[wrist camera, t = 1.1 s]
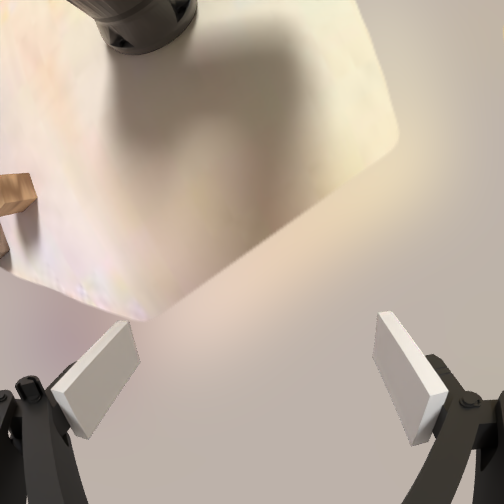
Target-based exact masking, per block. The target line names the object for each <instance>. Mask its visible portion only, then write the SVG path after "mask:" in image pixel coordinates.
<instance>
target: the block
mask: <svg viewBox="0 0 504 504" xmlns="http://www.w3.org/2000/svg"><path fill="white" fill-rule="evenodd" d="M36 199H37V195H36V192H35V189H34V186H33V183H32V180H31V177H30V174H29V173H21V174H6V175H0V217H1V216H5V215H10V214H14V213H19V212H23V211H24V210H25V209H26V208H27V207H28V206H29V205H30V204H31V203H32V202H34V201H35V200H36Z"/></svg>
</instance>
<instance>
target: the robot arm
mask: <svg viewBox="0 0 504 504" xmlns="http://www.w3.org/2000/svg"><path fill="white" fill-rule="evenodd" d="M67 1H68V2H70V3H71V4H73V5H74V6H76V7H77V8H79V9H80V10H82V11H83V12H85V13H86V14H87V15H89V16H90V17H92V18H93V19H94V20H95V22H96V24H97V27H98V29H99V31H100V34H101V36H102V38H103V40H104V41H105V42H106V43H107V44H108V45H109V46H110V47H112V48H113V49H115V50H116V51H118V52H120V53H123V54H129V55H137V54H144V53H148V52H151V51H154V50H157V49H159V48H161V47H163V46H165V45H166V44H168V43H170V42H171V41H172V40H174V39H175V38H176V37H178V36H179V35H180V34H181V33H182V32H183V31H184V30H185V29H186V27H187V26H188V25H189V23H190V22H191V20H192V18H193V16H194V14H195V11H196V7H197V0H67ZM373 359H374V361H375V364H376V366H377V368H378V370H379V372H380V374H381V377H382V379H383V381H384V383H385V386H386V388H387V390H388V392H389V394H390V397H391V399H392V402H393V404H394V406H395V408H396V411H397V413H398V416H399V418H400V420H401V423H402V425H403V428H404V430H405V432H406V435H407V437H408V440H409V442H410V445H411V446H414V445H419V444H422V443H426V442H428V441H429V439H430V437H431V434H432V432H433V434H434V436H435V438H436V440H435V442H434V445H433V446H432V449H431V451H430V452H429V454H428V457H427V459H426V461H425V463H424V465H423V467H422V469H421V471H420V473H419V474H418V476H417V478H416V480H415V482H414V484H413V485H412V487H411V489H410V491H409V492H408V494H407V495H406V497H405V499H404V500H403V502H402V504H451V502H452V499H453V497H454V495H455V493H456V490H457V488H458V485H459V483H460V480H461V478H462V475H463V473H464V470H465V467H466V464H467V461H468V459H469V456H470V453H471V450H474V449H476V471H475V484H474V494H473V502H472V504H504V391H502V393H501V394H500V396H499V399H498V400H482V398H481V397H480V396H479V395H478V394H476V393H474V392H470V391H465V390H464V389H463V387H462V386H461V385H460V383H459V382H458V381H457V379H456V378H455V377H454V375H453V374H452V373H451V371H450V370H449V368H447V366H446V365H445V363H444V362H443V361H442V359H440V358H439V357H437V356H435V355H434V354H431V355H426V356H424V355H423V353H422V352H421V350H420V349H419V347H418V346H417V345H416V343H415V342H414V341H413V339H412V338H411V337H410V335H409V334H408V332H407V331H406V330H405V328H404V327H403V326H402V324H401V323H400V322H399V320H398V319H397V318H396V317H395V315H394V314H393V313H392V311H386V312H378V315H377V325H376V334H375V343H374V351H373ZM139 364H140V359H139V355H138V352H137V348H136V345H135V341H134V338H133V334H132V330H131V327H130V322H129V321H117V322H116V323H115V324H114V325H113V326H112V327H111V328H110V329H109V330H108V331H107V332H106V333H105V334H104V335H103V336H102V337H101V338H100V339H99V340H98V341H97V342H96V343H95V344H94V345H93V346H92V347H91V348H90V349H89V350H88V351H87V352H86V353H85V354H84V355H83V356H82V357H81V358H80V359H79V360H78V361H76V362H74V363H72V364H71V365H69V366H68V367H67V368H66V369H65V370H64V371H63V373H61V374H60V375H59V377H57V378H56V379H55V380H54V381H53V382H52V383H51V384H50V386H49V387H47V389H46V390H44V388H43V387H42V384H41V382H40V380H39V378H38V377H36V376H27V377H23V378H22V379H20V380H19V381H18V382H17V383H16V385H15V388H16V390H17V392H18V394H19V396H20V398H21V399H15V398H14V396H13V394H12V392H11V391H9V390H1V391H0V504H26V498H27V497H28V504H88V501H87V498H86V495H85V492H84V489H83V486H82V482H81V479H80V476H79V472H78V468H77V465H76V461H75V457H74V453H73V449H72V444H71V440H70V436H69V434H68V433H67V431H68V430H69V428H70V427H71V429H72V430H73V432H74V434H75V435H76V436H78V437H82V438H84V439H88V440H89V439H90V437H91V436H92V434H93V432H94V431H95V429H96V428H97V426H98V425H99V423H100V422H101V420H102V419H103V417H104V416H105V414H106V413H107V411H108V410H109V408H110V407H111V405H112V404H113V402H114V401H115V399H116V398H117V396H118V395H119V393H120V392H121V390H122V389H123V387H124V386H125V384H126V383H127V381H128V380H129V378H130V377H131V375H132V374H133V373H134V371H135V370H136V368H137V367H138V365H139ZM8 430H9V432H10V433H11V436H10V438H9V435H8Z"/></svg>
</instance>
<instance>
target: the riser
mask: <svg viewBox="0 0 504 504" xmlns="http://www.w3.org/2000/svg"><path fill="white" fill-rule="evenodd" d="M9 250H10V249H9V246H8V243H7V241H6V238H5V235H4V233H3V230H2V227H1V224H0V259H1V258H2V257H3V256H4V255H5V254H6V253H7V252H8V251H9Z"/></svg>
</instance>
